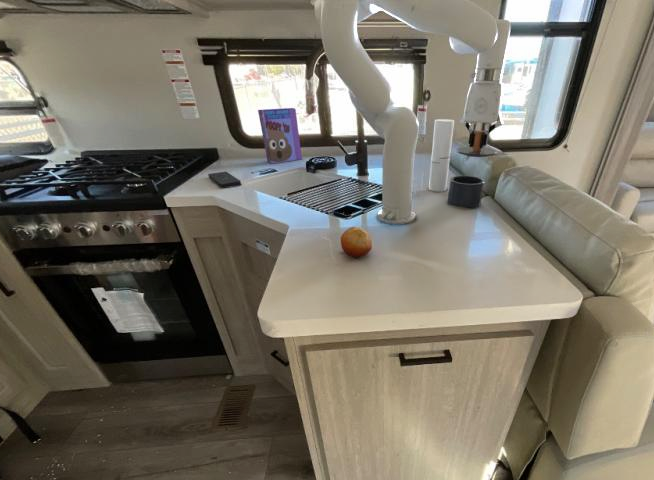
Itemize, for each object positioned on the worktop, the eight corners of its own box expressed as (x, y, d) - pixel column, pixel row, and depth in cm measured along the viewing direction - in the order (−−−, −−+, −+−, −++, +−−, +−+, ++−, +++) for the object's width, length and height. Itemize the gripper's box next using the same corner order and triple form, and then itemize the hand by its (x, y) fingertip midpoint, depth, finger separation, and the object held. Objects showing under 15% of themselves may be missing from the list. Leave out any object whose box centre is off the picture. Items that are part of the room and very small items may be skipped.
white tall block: (447, 191, 130) (455, 121, 116) (429, 191, 131) (435, 121, 116) (444, 186, 136) (452, 119, 122) (427, 186, 136) (433, 119, 122)
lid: (490, 160, 97) (494, 135, 93) (450, 155, 102) (453, 132, 98) (500, 152, 106) (505, 130, 102) (463, 148, 111) (466, 127, 107)
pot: (474, 211, 113) (479, 186, 108) (443, 205, 117) (445, 181, 112) (483, 201, 121) (487, 178, 116) (453, 196, 125) (456, 174, 120)
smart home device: (226, 170, 147) (241, 180, 134) (227, 174, 148) (242, 184, 135) (207, 173, 143) (220, 184, 130) (208, 177, 144) (221, 188, 131)
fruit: (350, 238, 90) (360, 218, 84) (369, 258, 89) (380, 240, 82) (329, 248, 85) (338, 227, 78) (348, 270, 83) (359, 250, 77)
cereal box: (271, 164, 166) (261, 110, 152) (267, 162, 169) (257, 109, 155) (301, 159, 176) (295, 108, 162) (297, 157, 179) (291, 107, 165)
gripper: (456, 76, 93) (448, 146, 103) (514, 77, 86) (500, 152, 97) (465, 76, 98) (456, 142, 109) (520, 77, 91) (505, 147, 102)
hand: (477, 146), depth 103 cm, fingers closed on lid, 2 cm apart
